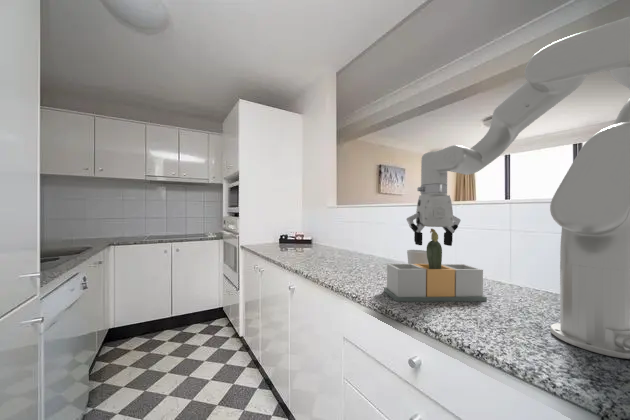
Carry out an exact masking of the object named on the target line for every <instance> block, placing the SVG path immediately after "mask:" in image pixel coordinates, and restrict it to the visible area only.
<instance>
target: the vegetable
mask: <svg viewBox="0 0 630 420" xmlns="http://www.w3.org/2000/svg"><path fill="white" fill-rule="evenodd" d="M429 233H430V234H431V235H430V236H431V237H430V239H431V240H430V241H428V243H427V245H426V251H427V259H428V264H429V269H441V264H443V262H442V259H443V247H442V245H441V242H439V241H438V240H439V234H438V233H437V231H436V230H435V229H434V228H430V231H429Z"/></svg>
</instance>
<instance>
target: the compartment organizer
mask: <svg viewBox="0 0 630 420" xmlns="http://www.w3.org/2000/svg"><path fill="white" fill-rule="evenodd" d="M383 292H384V293H385V294H387V295H388V296H389V297H390V298H391V299H393V301H395V302H400V303H401V302H402V303H406V302H408V303H409V302H413V303H414V302H415V303H416V302H420V303H422V302H424V303H426V302H429V303H431V302H487V301H488V297H487V296H485V295H484V269H481V268H478V267H475V266H472V265H471V266H470V265H467V264H462V263H461V264H460V263H459V264H457V263H455V264H454V263H441V269H429V264H408V263H386V287H383Z"/></svg>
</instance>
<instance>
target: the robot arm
mask: <svg viewBox="0 0 630 420" xmlns="http://www.w3.org/2000/svg"><path fill="white" fill-rule="evenodd" d="M608 71H609V74H610V76H611V78H612V79H613V80H614V81H616V82H617V83H619V84H620V85H622V86H624V87H626V88H628V90H630V15H629V16H628V17H627V16H626V17H624V18H621V19H617V20H615V21H611V22H609V23H605V24H603V25H599V26H597V27H594V28H591V29H588V30H584V31H581V32H579V33H575V34H572V35H570V36H567V37H564V38H562V39H559V40H557V41H553V42H552V43H551V44H550V43H549V44H548V45H546V46H545V47H542V48H541V49H540V50H539V51H537V52H536V53H534V55H532V56H531V58H530V59H529V60H528V62H527V64H526V66H525V68H524V77H525V80H526V81H525V82H524V83H523V84H522V85H521V86H519V87H518V88H517V89H516V90H515V91H514V92H513V93H512V94H510V95H509V96H508V97H507V98H506V99H504V100H503V101H502V102H501V103H500V104H499V105H498V106H497V107H495V108H494V110H493V112H492V115H491V116H492V117H491V123H490V127H489V129H488V130H487V132H486V134H485V135H484V136H483V137H482V138H481V139H480V140H479V141H478V142H477V143H476V144H474V145H473V146H472V147H471V148H469V147H467V146H463V145H460V144H454V145H450V146H447V147H445V148H442V149H439V150H435V151H428V152H425V153H424V154H423V155H421V160H420V161H421V162H420V163H421V166H420V167H421V169H420V172H421V174H420V176H421V177H420V187H419V186H418V187H417V188H416V189H417V192H419V193H420V195H418V200H417V204H416V210H415V211H416V212H415V213H414V214H412V215H411V216H408V217H407V218H406V222H407V223H408V226H409V228H411V230H412V231H413V232H414V235H413V236H414V238H413V239H414V244H415V245H417V246H423V232H422V231H423V229H424V228H425V227H429V228H431V227H432V228H442V229H443V230H444V231H445V232H444V233H443V245H444V246H449V247H452V245H453V236H454V235H453V234H454V233H455V231H456V230H457V229H458V227H459V225H460V223H461V219H460V218H458V217H457V216H455V215H454V213H453V203H452V199H451V195H449V194H448V172H451V173H456V174H462V175H465V176H466V175H467V176H468V175H472V174H473V175H474V174H475V173H478V172H480V171H482V170H483V169H484V168H485V167H487V166H488V165H490V164H491V163H492V162H494V161H495V160H496V159H498V158H499V157H500V156H501V155H502V154H503V153H504V152H505V151H506V150H507V149H508V148H509V147H510V146H511V144H512V143H513V142H514V141H515V140H516V139H517V137H518V136H519V134H520V133H522V131H523V130H525V129H527V127H529V126H530V125H531V124H533V123H534V122H535V121H536V120H538V119H539V118H540V117H542V116H543V115H544V114H546V113H547V112H548V111H549V110H551V109H553V108H554V107H555V106H556V105H558V104H560V102H561V101H563V100H564V99H566V98H567V97H568V96H570V95H571V94H572V93H574V92H575V91H576V90H577V89H578V88H579V87H580V86H582V84H583V83H584V82H585V80H586V79H587V76H591V75H595V74H600V73H604V72H608ZM620 109H621V110H620V111H619V113H618V115H617V117H616V119H615V120H614V122H613V123H612V125H610V126H607V127H605V128H603V129H601V130H599V131H597V132H596V133H595V134H594V135H592V136H591V137H589V138H588V140H586V142H585V143H584V144H583V145H582V146H581V148H580V150H579V151H578V153H577V155H576V157H575V158H574V160H573V162H572V163H571V165H570V167H569V168H568V170H567V172H566V174H565V175H564V177H563V179H562V181H560V182H561V183H559V186H558V187H557V189H556V190H555V192H554V194H553V197H552V199H551V202H550V204H549V211H550V215H551V217H552V219H553V220H554V221H555V223H556V224H557V225H559V226H560V227H561V232H560V233H561V235H560V248H559V249H560V251H559V255H560V258H559V259H560V260H559V261H560V262H559V280H560V281H559V282H560V283H559V295H560V296H559V305H560V306H559V307H560V308H559V321H560V322H557V323H552V324H551V325H550V329H549V330H550V332H551V334H552V335H553V336H555V337H556V338H557V339H559V340H561V341H563V342H565V343H567V344H569V345H572V346H575V347H576V348H577V347H578V348H580V349H582V350H585V351H589V352H592V353H596V354H600V355H604V356H607V357H613V358H619V359H627V360H630V97H629V98H628V100H627V101H626V102H625V103H624V105H623V106H622V108H620ZM414 220H415V222H414ZM415 223H416V224H415Z"/></svg>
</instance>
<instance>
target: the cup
mask: <svg viewBox="0 0 630 420" xmlns="http://www.w3.org/2000/svg"><path fill="white" fill-rule="evenodd" d="M406 253H407V264H428V259H427V250H424V249H423V250H422V249H407V251H406Z"/></svg>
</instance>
